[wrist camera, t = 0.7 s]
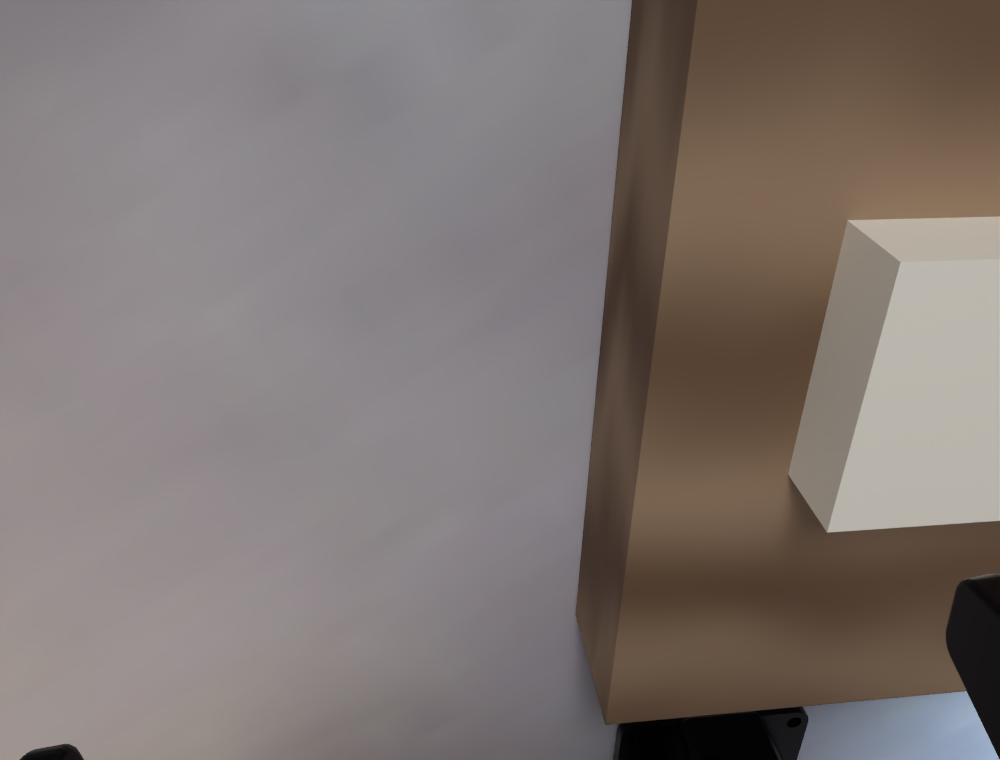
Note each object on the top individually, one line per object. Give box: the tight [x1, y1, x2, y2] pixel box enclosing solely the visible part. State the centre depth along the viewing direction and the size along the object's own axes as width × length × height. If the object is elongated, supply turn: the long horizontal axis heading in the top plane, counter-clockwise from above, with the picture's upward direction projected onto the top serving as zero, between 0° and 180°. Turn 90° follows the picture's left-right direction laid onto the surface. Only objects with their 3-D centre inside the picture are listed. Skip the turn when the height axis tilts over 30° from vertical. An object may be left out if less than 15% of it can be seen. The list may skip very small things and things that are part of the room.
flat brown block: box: [576, 0, 1000, 725], centre depth 21 cm, size 22×14×4 cm, turn 179°
